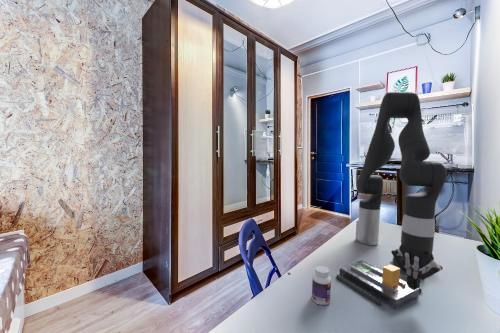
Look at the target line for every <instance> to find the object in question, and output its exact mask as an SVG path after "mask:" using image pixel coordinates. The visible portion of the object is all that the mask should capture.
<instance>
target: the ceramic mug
mask: <svg viewBox="0 0 500 333" xmlns="http://www.w3.org/2000/svg"><path fill="white" fill-rule="evenodd" d="M402 256H403V255H402ZM390 264H391V265H394V266H396V267H398V268H400V267H399V265H398V263H397V262H396V260H395V258H394V256H393V257H392V260H391V261H389V265H390ZM425 270H426V267H424V269H423V272H425ZM400 276H402V277H406V278H407V273H406V272H405V271H402V270H401V269H400Z"/></svg>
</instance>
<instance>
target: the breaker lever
mask: <svg viewBox="0 0 500 333" xmlns="http://www.w3.org/2000/svg"><path fill="white" fill-rule="evenodd" d="M382 270H383V276H382V282H384V283H386V284H387V285H389V286H391V287H393V286H395V285H397V284H399V278H400V279H401V275H400V268H398V267H396V266H394V265H391V264H390V263H389V264H388V265H384V266H383V267H382Z"/></svg>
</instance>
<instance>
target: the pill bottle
mask: <svg viewBox="0 0 500 333" xmlns="http://www.w3.org/2000/svg"><path fill="white" fill-rule="evenodd" d="M314 268H315V269H314V273H313V275H312V280H311V281H312V282H311V299H312V301H313V302H314V303H315V304H317V305H320V306H326V305H328V304H330V302H331V292H332V290H331V289H332V279H331V278H332V277H330V269H329V268H328V267H326V266H323V265H317V266H316V267H314Z"/></svg>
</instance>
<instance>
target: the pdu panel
mask: <svg viewBox="0 0 500 333" xmlns="http://www.w3.org/2000/svg"><path fill="white" fill-rule="evenodd" d="M370 264H371V263H368V262H366V261H364V260H362V259H361V260H357V261H355V262H351V263H349V264H345V265H343V266H339V274H338V275H339V276H341V277H342V278H344V279H345V280H347V281H349V282H350V283H352V284H353V285H355V286H357V287H358V288H360V289H362V290H363V291H365V292H366V293H368V294H370V295H371V296H373V297H374V298H376V299H378V300H379V301H381V302H382V303H384V304H385V305H387V306H389V308H392V309H394V310H398V309H400V308H401V307H403V306H405V305H407V304H409V303H411V302H413V301H414V300H416V299H418V298H419V294H420V292H419V288H420V287H419V288H418V289H416V290H413V289H411V288H409V287H408V285H407V281H406V280H404V281H403V279H402V280H401V278H400V279H399V284H397V285H395V286H393V287H391V286H389V285H387V284H386V283H384V282H382V276H383V269H381V268H379V267H377V266H375V265H373V264H371V265H370ZM372 265H373V266H372ZM374 266H375V267H374ZM376 267H377V268H376ZM405 281H406V282H405Z"/></svg>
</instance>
